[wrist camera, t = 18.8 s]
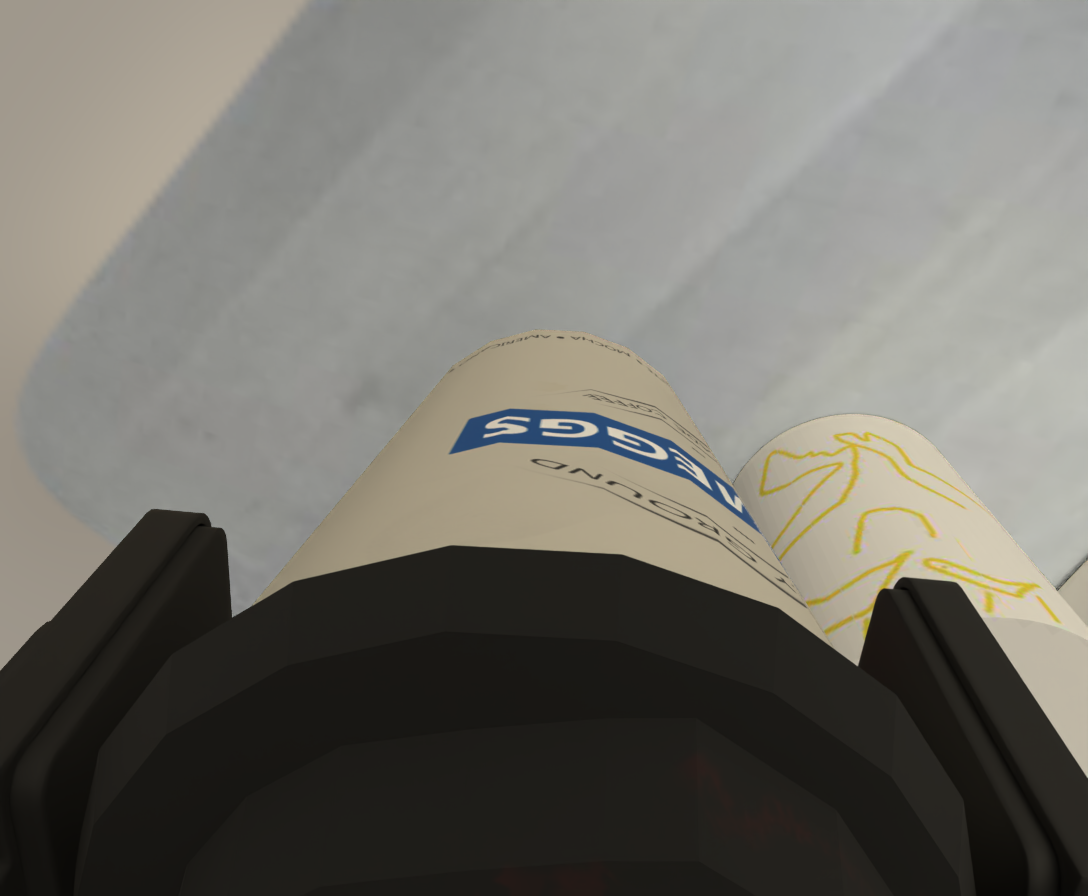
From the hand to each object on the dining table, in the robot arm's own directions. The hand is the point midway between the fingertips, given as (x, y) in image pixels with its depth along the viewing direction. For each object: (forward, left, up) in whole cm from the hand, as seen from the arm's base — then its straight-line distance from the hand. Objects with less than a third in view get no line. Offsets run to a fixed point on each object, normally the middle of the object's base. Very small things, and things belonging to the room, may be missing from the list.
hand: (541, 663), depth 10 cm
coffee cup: (0, 0, -5) cm, 5 cm away
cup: (+9, +10, -21) cm, 25 cm away
